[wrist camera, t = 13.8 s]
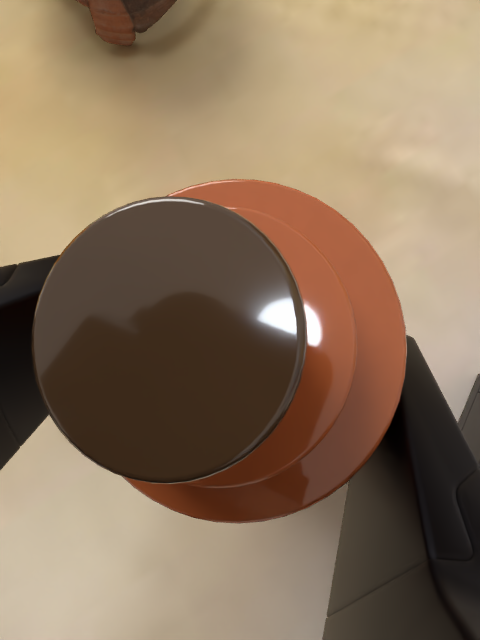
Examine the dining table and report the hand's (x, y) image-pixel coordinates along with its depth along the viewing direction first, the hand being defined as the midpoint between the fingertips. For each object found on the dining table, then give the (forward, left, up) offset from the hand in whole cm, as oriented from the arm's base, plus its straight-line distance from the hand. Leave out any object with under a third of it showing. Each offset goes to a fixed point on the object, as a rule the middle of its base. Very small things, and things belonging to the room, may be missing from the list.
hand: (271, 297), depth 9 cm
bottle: (-1, 0, -7) cm, 7 cm away
